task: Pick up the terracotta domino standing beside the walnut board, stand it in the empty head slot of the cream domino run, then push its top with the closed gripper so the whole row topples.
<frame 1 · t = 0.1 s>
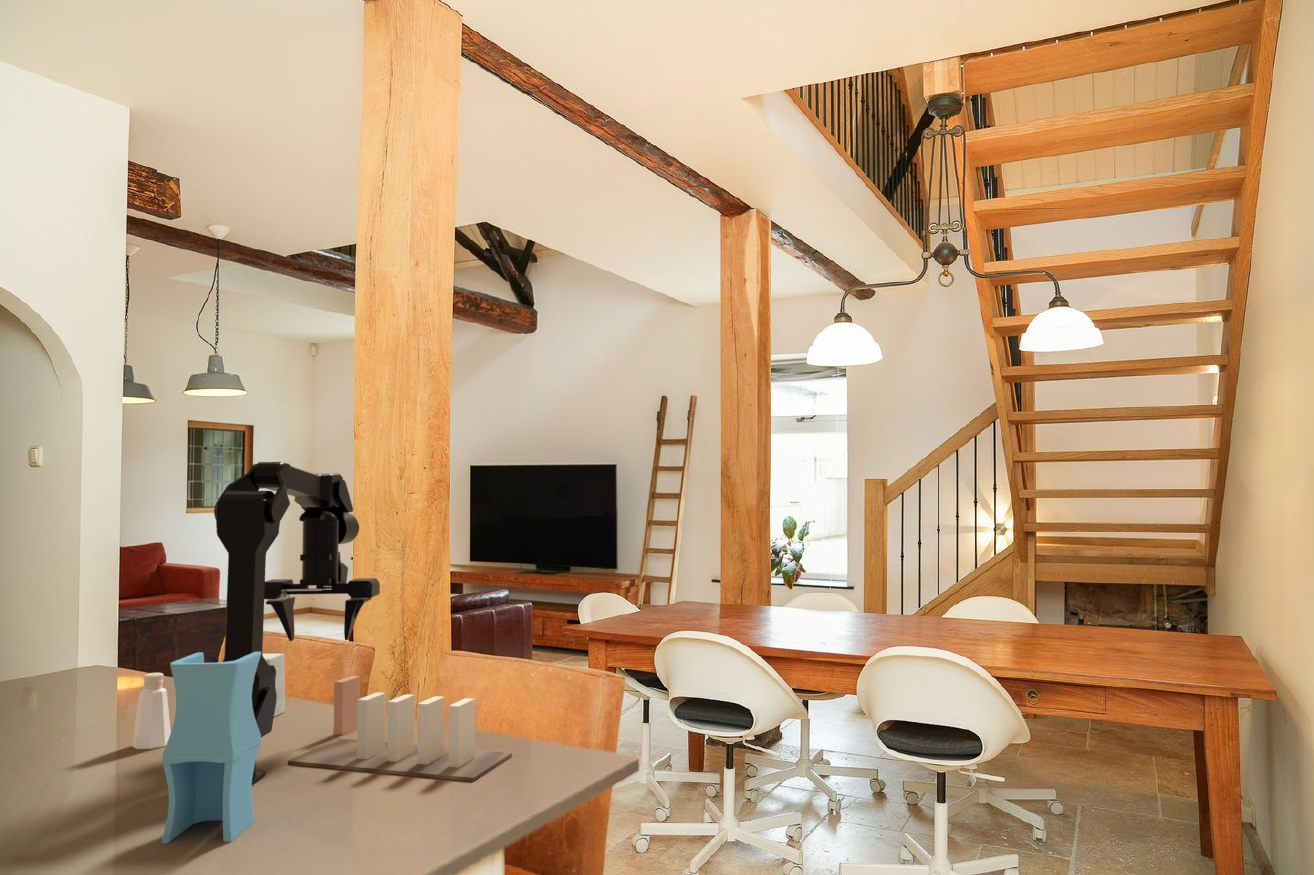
hand: (319, 640, 152), 14 cm above the table, fingers open, 9 cm apart
walnut board: (400, 760, 133), on the table
terracotta domino: (346, 731, 149), on the table
domino 4: (431, 759, 132), resting on walnut board
domino 2: (371, 754, 134), resting on walnut board
small box: (255, 717, 160), on the table
domino 3: (401, 727, 133), on the walnut board
pepper shaker: (151, 746, 142), on the table
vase: (211, 831, 106), on the table
domino 5: (461, 762, 130), resting on walnut board
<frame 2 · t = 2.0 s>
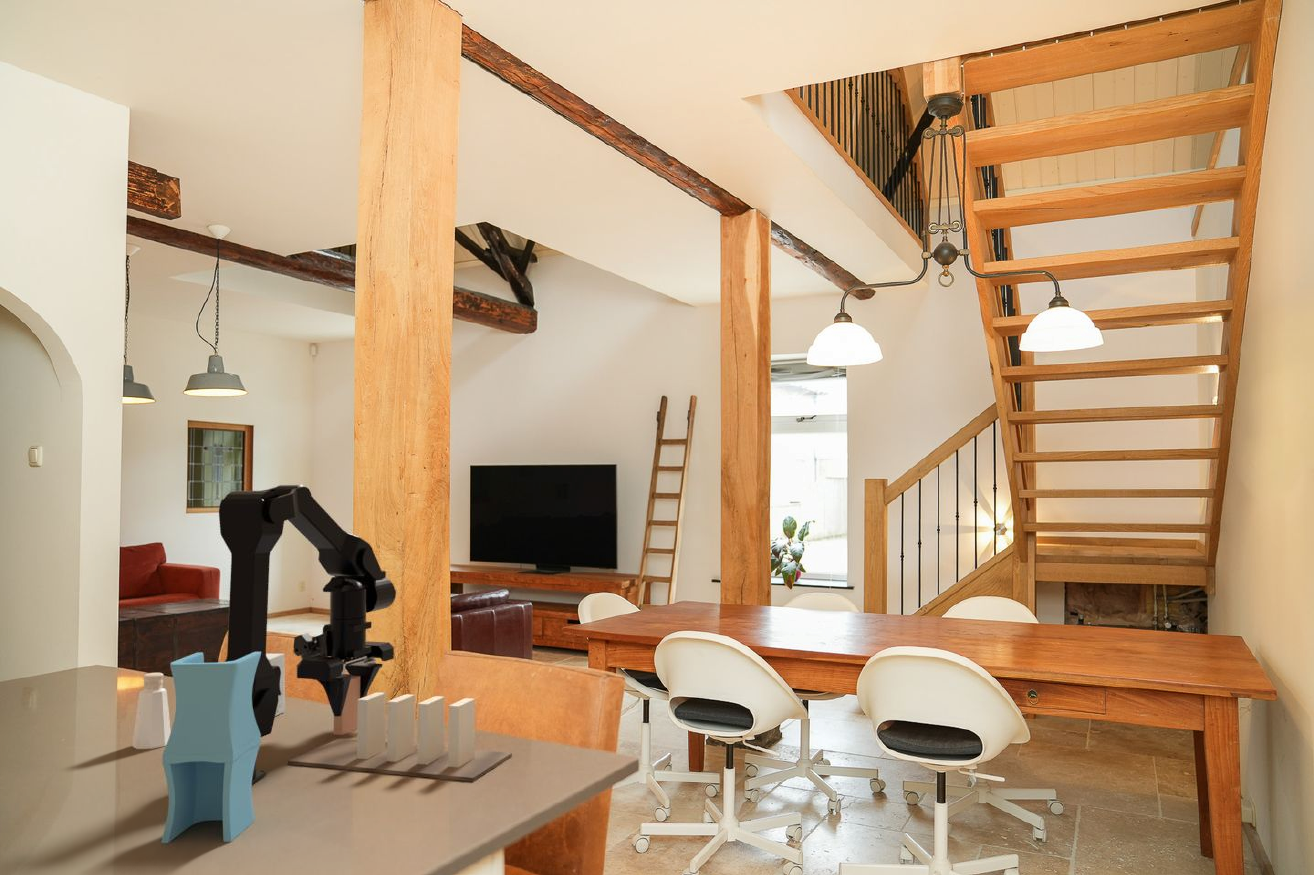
hand: (347, 712, 150), 3 cm above the table, fingers closed on terracotta domino, 5 cm apart
terracotta domino: (346, 731, 149), on the table, touching gripper
everything else where it was.
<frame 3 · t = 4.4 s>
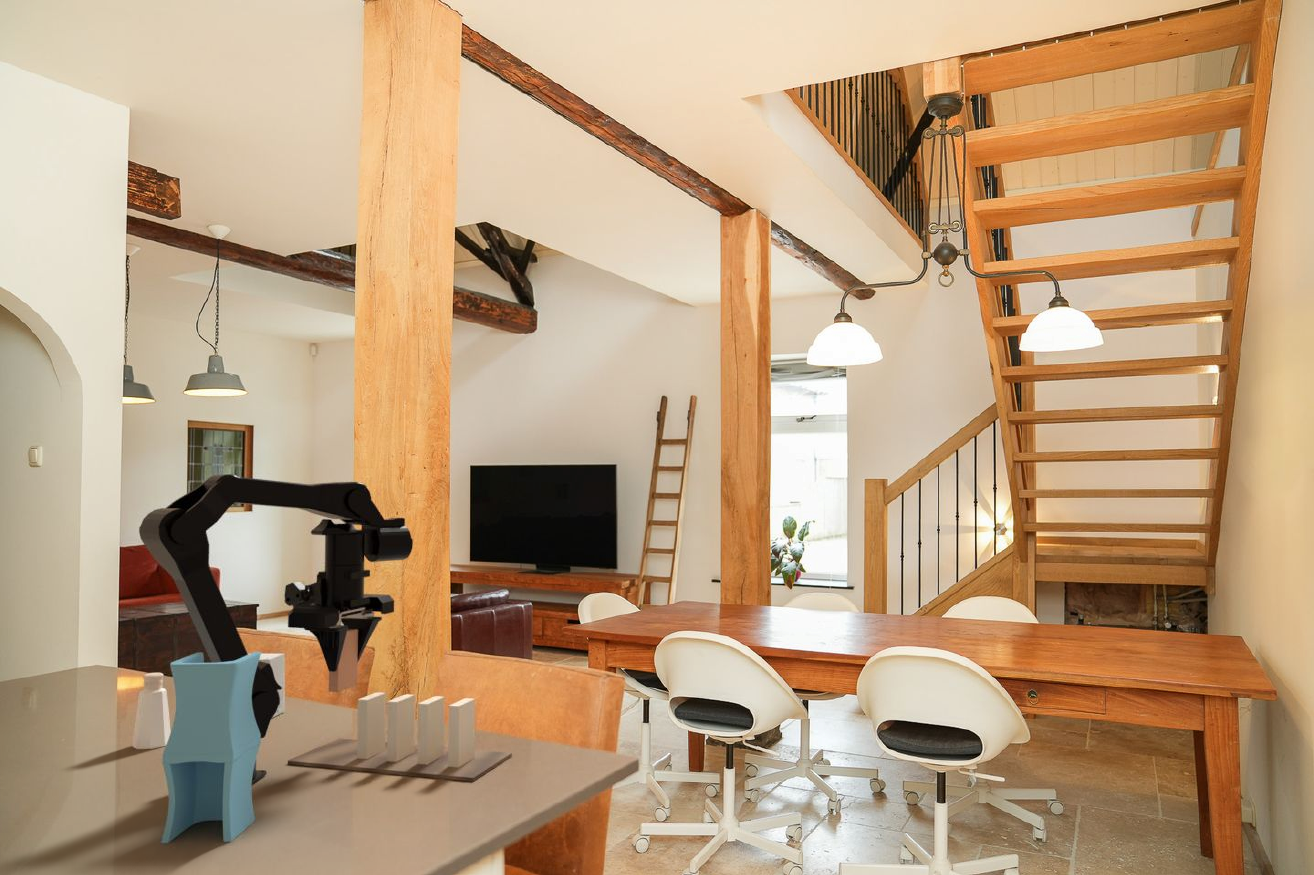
hand: (343, 668, 137), 13 cm above the table, fingers closed on terracotta domino, 5 cm apart
terracotta domino: (343, 688, 136), point 10 cm above the table, touching gripper
everything else where it was.
when the fingers open (5 cm above the table, at t = 6.7 s): terracotta domino stays where it is, resting on walnut board.
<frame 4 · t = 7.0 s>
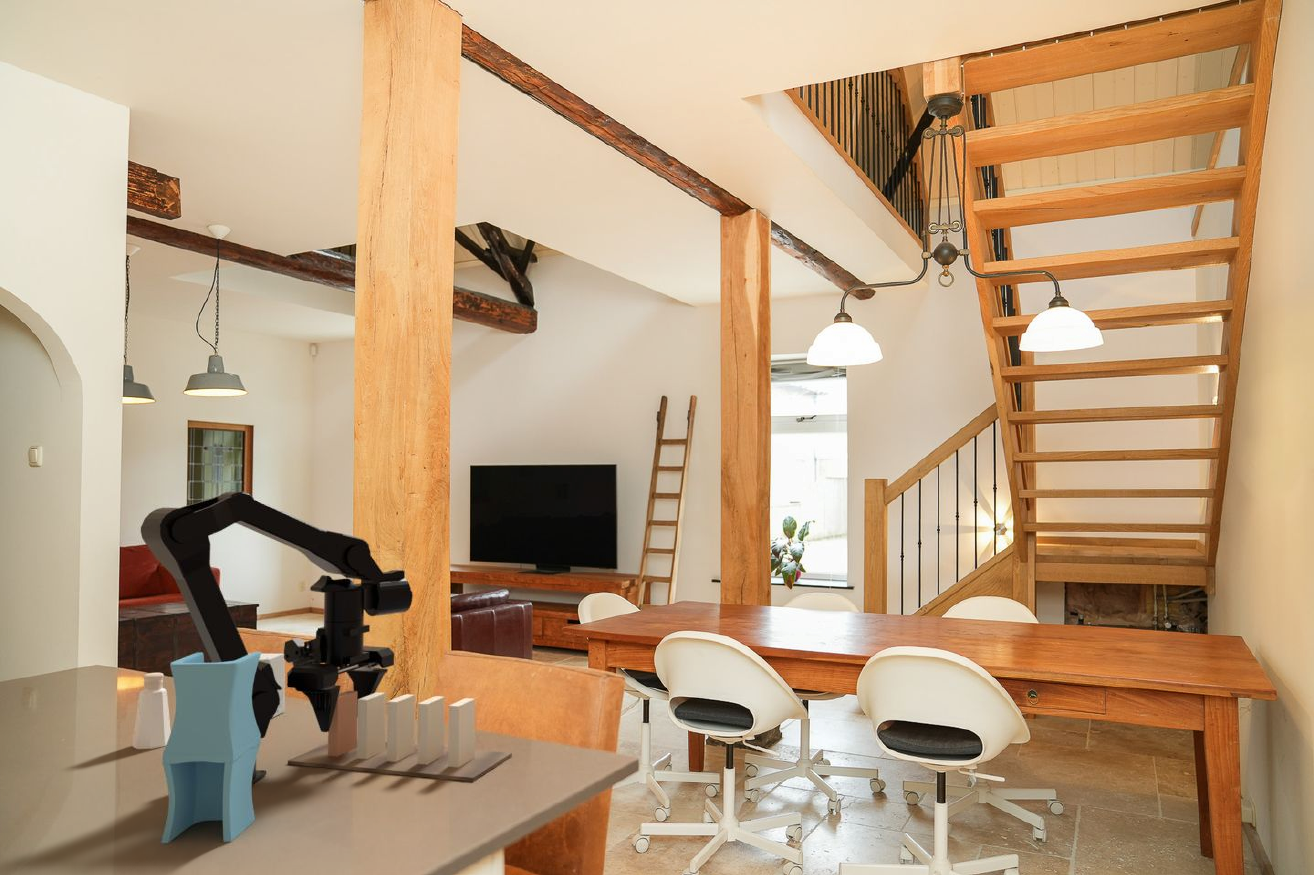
hand: (342, 724, 136), 5 cm above the table, fingers open, 8 cm apart
terracotta domino: (342, 751, 136), resting on walnut board
everything else where it was.
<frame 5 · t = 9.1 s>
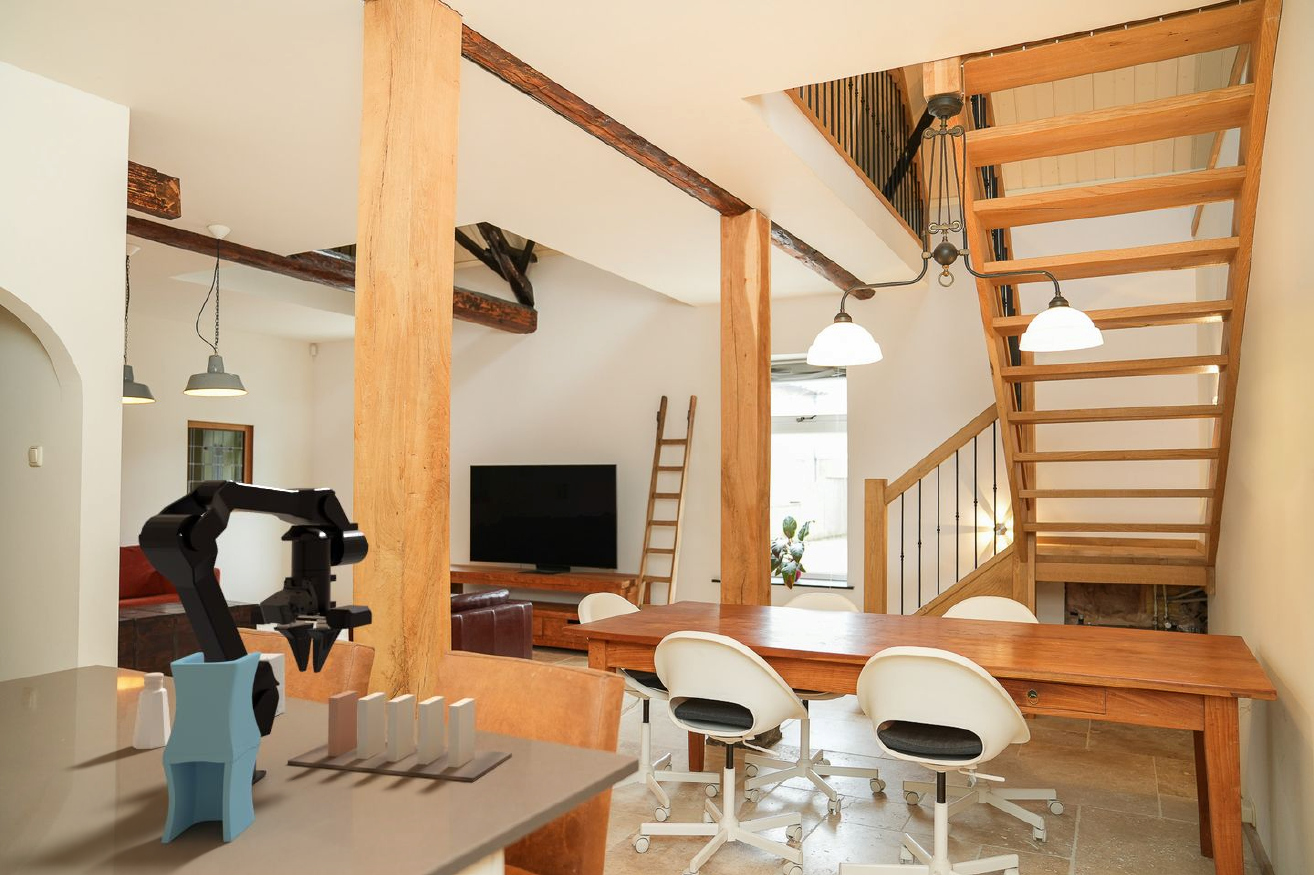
hand: (310, 672, 138), 12 cm above the table, fingers closed
nothing on the table moved.
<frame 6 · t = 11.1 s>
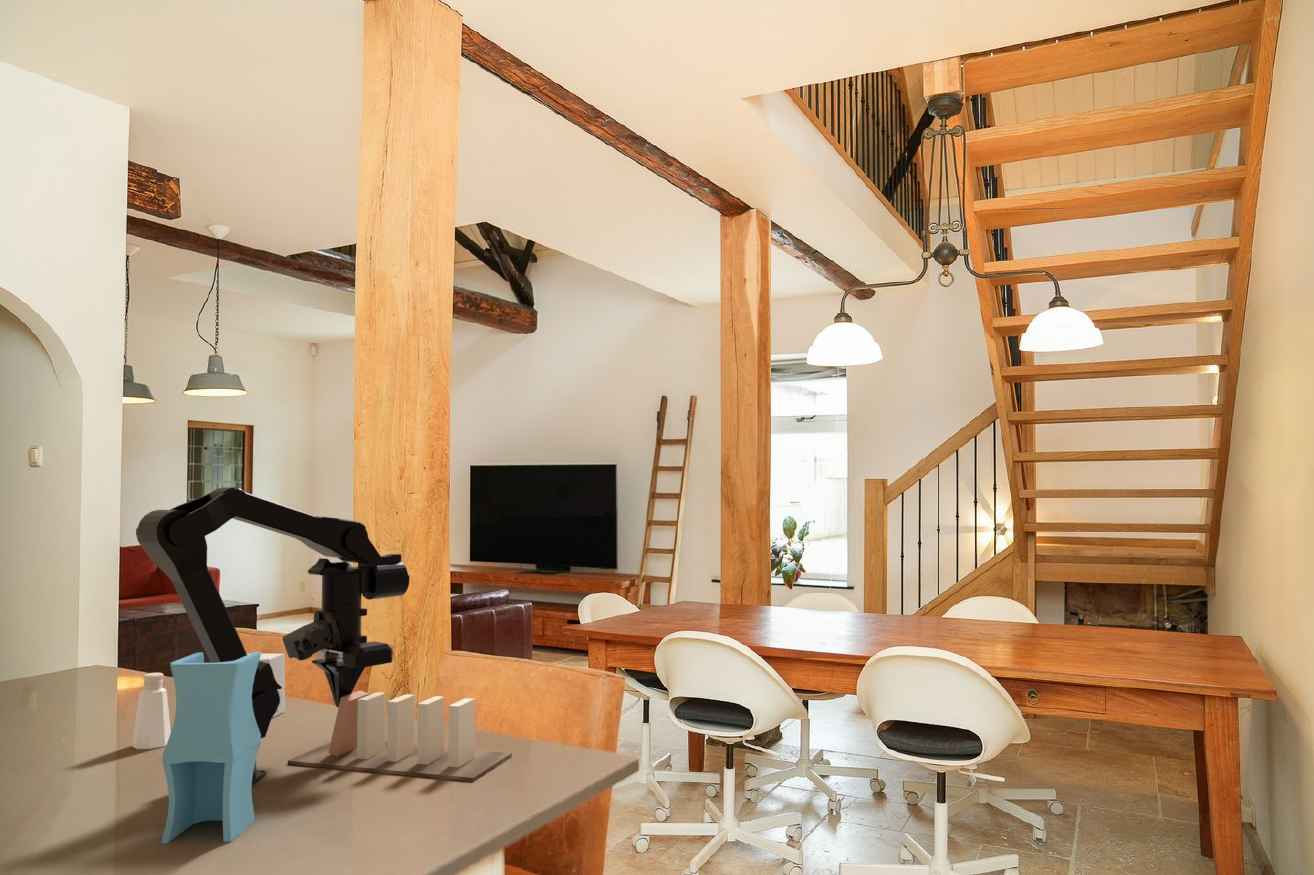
hand: (340, 707, 136), 7 cm above the table, fingers closed
terracotta domino: (342, 750, 136), point 1 cm above the table, tilted 14°, touching walnut board
everything else where it was.
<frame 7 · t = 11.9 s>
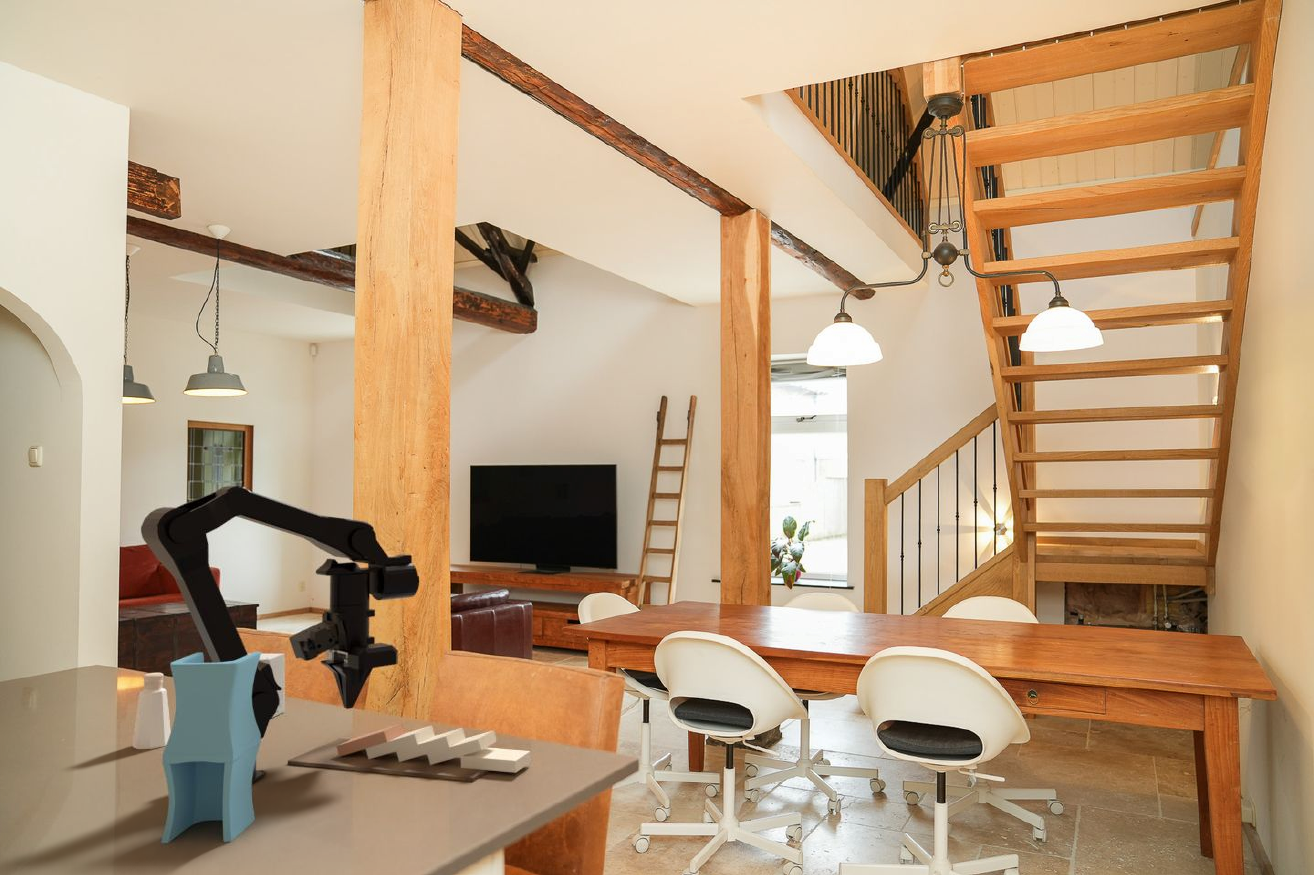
hand: (348, 708, 136), 7 cm above the table, fingers closed
terracotta domino: (347, 746, 136), point 1 cm above the table, tilted 71°, touching domino 2, walnut board
domino 4: (437, 754, 131), point 1 cm above the table, tilted 72°, touching domino 3, domino 5, walnut board
domino 2: (376, 749, 134), point 1 cm above the table, tilted 72°, touching domino 3, terracotta domino, walnut board
domino 3: (431, 744, 132), on the walnut board, tilted 72°, touching domino 2, domino 4
domino 5: (469, 756, 130), point 1 cm above the table, tilted 90°, touching domino 4, walnut board
everything else where it was.
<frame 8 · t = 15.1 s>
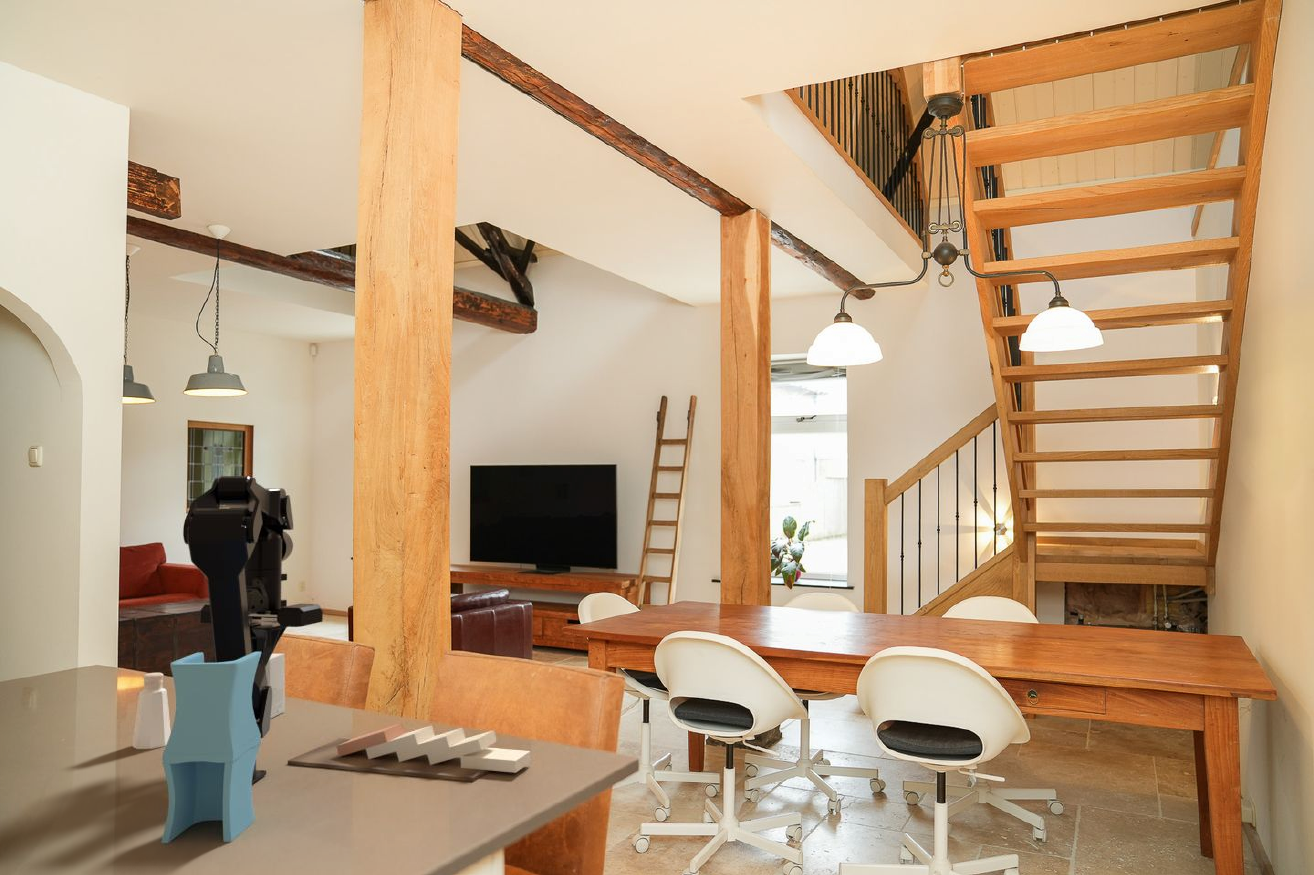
hand: (260, 669, 140), 12 cm above the table, fingers closed
nothing on the table moved.
at the end: domino 5 tilted 90°; terracotta domino tilted 71° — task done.
